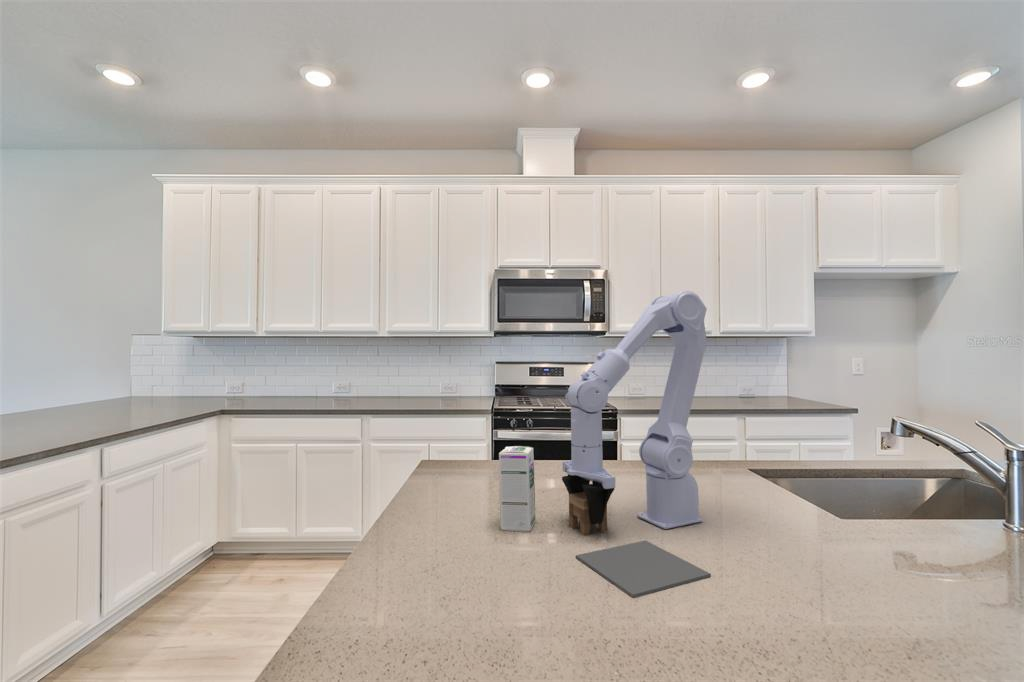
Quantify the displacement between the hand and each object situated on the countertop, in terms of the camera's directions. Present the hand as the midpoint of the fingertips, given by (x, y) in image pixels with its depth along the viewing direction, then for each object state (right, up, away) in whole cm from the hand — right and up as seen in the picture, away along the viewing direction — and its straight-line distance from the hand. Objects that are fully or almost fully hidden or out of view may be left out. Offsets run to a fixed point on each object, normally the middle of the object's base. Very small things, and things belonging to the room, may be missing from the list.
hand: (587, 518), depth 89 cm
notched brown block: (0, -2, 0) cm, 2 cm away
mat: (+5, -1, -16) cm, 17 cm away
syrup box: (-13, -2, +2) cm, 13 cm away
